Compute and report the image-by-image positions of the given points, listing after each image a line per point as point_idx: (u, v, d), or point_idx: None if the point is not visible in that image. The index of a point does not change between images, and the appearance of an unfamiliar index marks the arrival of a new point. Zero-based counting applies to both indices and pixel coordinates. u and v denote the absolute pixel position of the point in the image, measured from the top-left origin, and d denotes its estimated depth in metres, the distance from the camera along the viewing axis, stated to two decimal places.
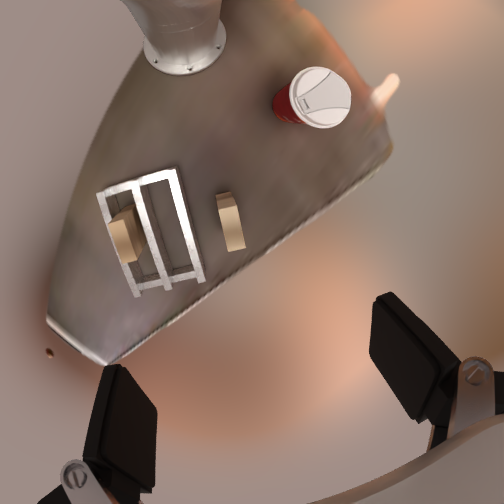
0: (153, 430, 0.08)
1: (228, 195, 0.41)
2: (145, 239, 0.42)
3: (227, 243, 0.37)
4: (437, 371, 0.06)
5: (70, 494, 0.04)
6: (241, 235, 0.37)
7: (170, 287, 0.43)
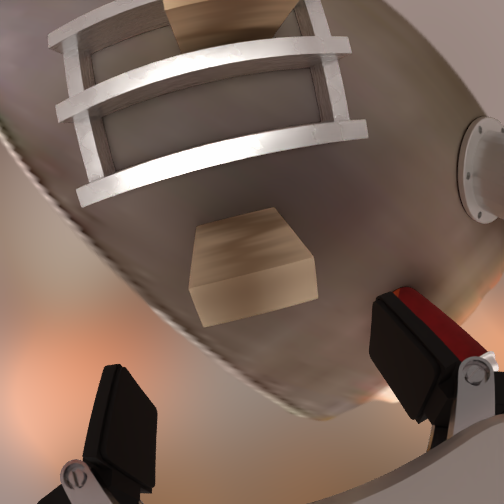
0: (153, 430, 0.08)
1: None
2: (186, 50, 0.14)
3: (214, 285, 0.13)
4: (437, 371, 0.06)
5: (70, 494, 0.04)
6: (238, 316, 0.14)
7: (62, 117, 0.12)
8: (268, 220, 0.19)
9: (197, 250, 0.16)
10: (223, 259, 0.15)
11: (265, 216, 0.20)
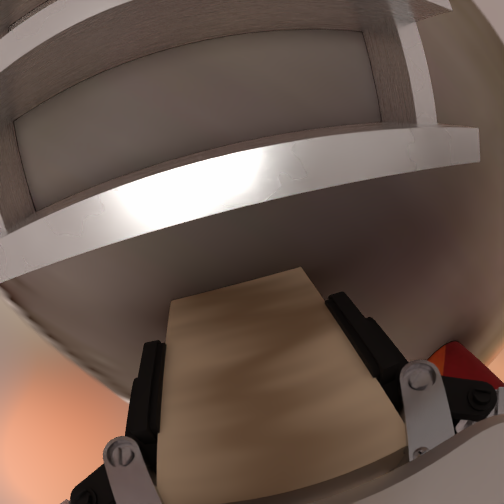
0: None
1: None
2: None
3: None
4: (377, 372, 0.06)
5: (109, 471, 0.05)
6: None
7: None
8: (298, 307, 0.10)
9: (169, 380, 0.08)
10: (221, 430, 0.06)
11: (289, 290, 0.11)
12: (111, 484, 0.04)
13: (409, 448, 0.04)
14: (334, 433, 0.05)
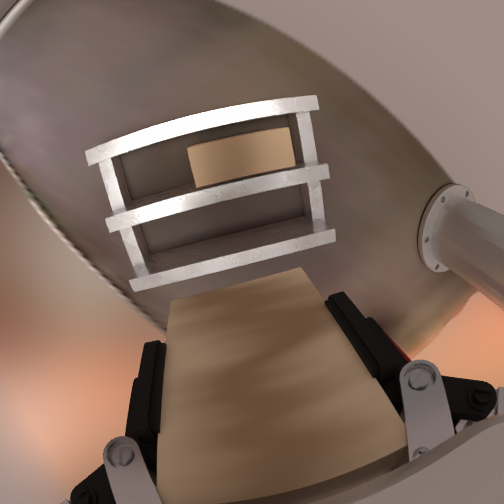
0: None
1: None
2: None
3: None
4: (377, 372, 0.06)
5: (109, 471, 0.05)
6: None
7: (112, 228, 0.20)
8: (298, 307, 0.10)
9: (169, 380, 0.08)
10: (220, 429, 0.06)
11: (289, 291, 0.11)
12: (111, 484, 0.04)
13: (409, 448, 0.04)
14: (334, 433, 0.05)
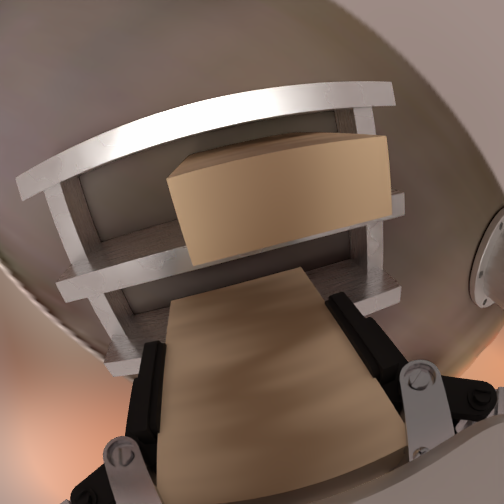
0: None
1: None
2: None
3: None
4: (377, 372, 0.06)
5: (109, 470, 0.05)
6: None
7: (69, 297, 0.12)
8: (298, 307, 0.10)
9: (169, 380, 0.08)
10: (220, 429, 0.06)
11: (289, 291, 0.11)
12: (111, 484, 0.04)
13: (409, 448, 0.04)
14: (334, 433, 0.05)
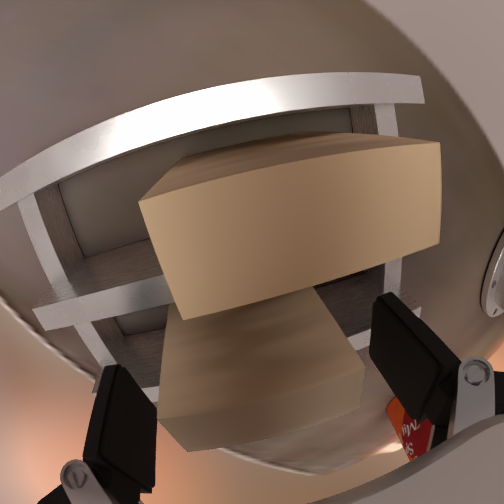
0: (153, 430, 0.08)
1: None
2: None
3: (199, 416, 0.07)
4: (437, 371, 0.06)
5: (70, 494, 0.04)
6: (239, 442, 0.07)
7: (48, 325, 0.09)
8: None
9: (172, 327, 0.10)
10: (212, 357, 0.08)
11: None
12: None
13: None
14: (300, 358, 0.08)
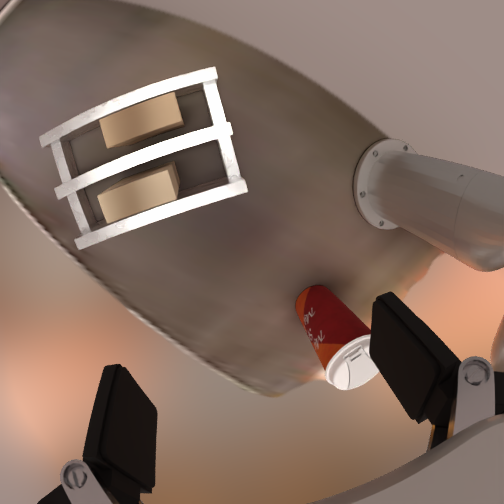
0: (153, 430, 0.08)
1: (178, 180, 0.26)
2: (130, 144, 0.24)
3: (111, 192, 0.19)
4: (437, 371, 0.06)
5: (70, 494, 0.04)
6: (126, 213, 0.20)
7: (60, 196, 0.22)
8: (162, 166, 0.25)
9: (113, 185, 0.23)
10: (122, 183, 0.21)
11: (163, 165, 0.26)
12: None
13: None
14: (149, 174, 0.20)
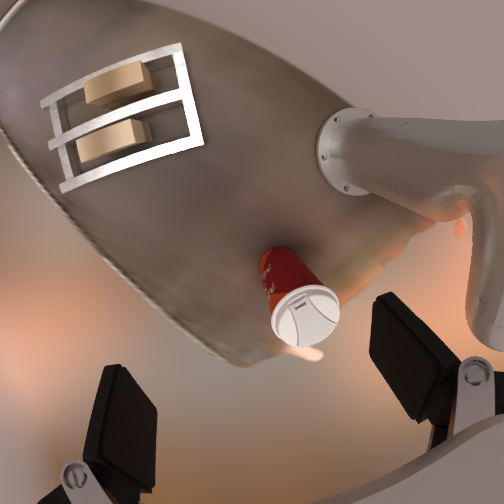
0: (153, 430, 0.08)
1: (148, 137, 0.28)
2: (111, 107, 0.26)
3: (86, 137, 0.21)
4: (437, 371, 0.06)
5: (70, 494, 0.04)
6: (96, 154, 0.22)
7: (51, 147, 0.24)
8: None
9: None
10: None
11: None
12: None
13: None
14: None
